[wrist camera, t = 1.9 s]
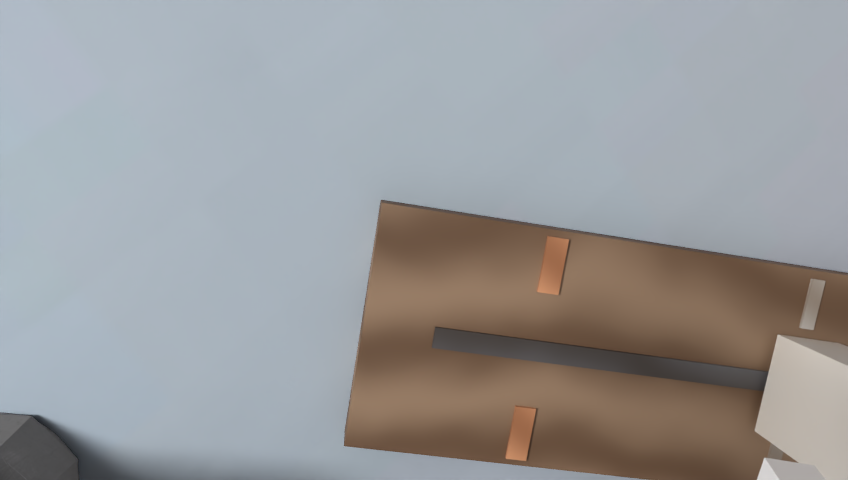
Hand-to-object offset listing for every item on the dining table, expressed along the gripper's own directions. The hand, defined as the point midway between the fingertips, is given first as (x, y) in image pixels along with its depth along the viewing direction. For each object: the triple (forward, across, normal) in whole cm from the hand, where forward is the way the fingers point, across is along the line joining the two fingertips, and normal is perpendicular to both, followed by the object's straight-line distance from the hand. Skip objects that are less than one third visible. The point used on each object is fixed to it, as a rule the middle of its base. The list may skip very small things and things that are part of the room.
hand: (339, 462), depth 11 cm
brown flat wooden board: (+28, -13, +10) cm, 32 cm away
